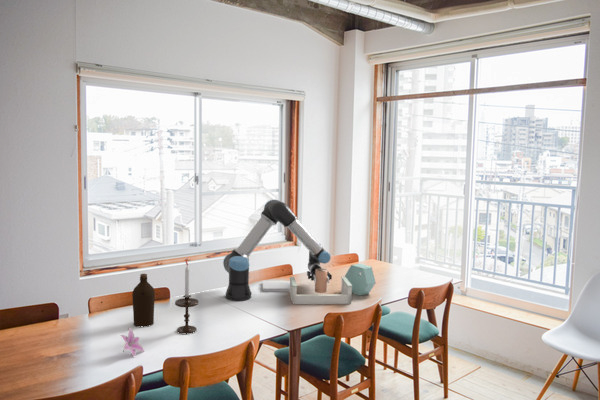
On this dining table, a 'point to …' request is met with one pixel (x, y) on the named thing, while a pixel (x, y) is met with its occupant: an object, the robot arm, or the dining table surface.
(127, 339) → the lily
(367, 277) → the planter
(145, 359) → the dining table surface
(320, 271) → the pot
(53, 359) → the dining table surface
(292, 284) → the grey u-shaped bracket
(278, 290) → the potting board
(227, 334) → the dining table surface
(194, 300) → the candlestick
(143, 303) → the olive oil
